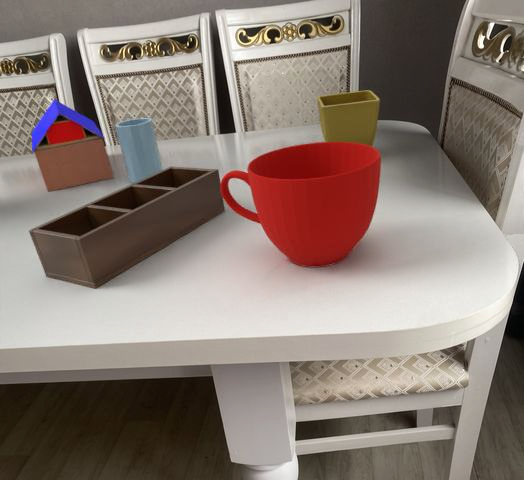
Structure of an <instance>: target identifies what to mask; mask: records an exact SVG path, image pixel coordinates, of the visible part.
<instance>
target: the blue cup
mask: <svg viewBox="0 0 524 480" xmlns="http://www.w3.org/2000/svg"><path fill="white" fill-rule="evenodd" d="M114 127H115V131H116V135H117V139H118V143H119V146H120V147H119V148H120V151H121V156H122V159H123V163H124V166H125V170H126V174H127V178H128V181H129V182H130V183H131V184H133V183H135V182H137V181H139V180H141V179H144V178H146V177H148V176H150V175H153V174H155V173H157V172H159V171H161V170H164V168H163V164H162V159H161V153H160V150H159V145H158V141H157V136H156V131H155V127H154V123H153V118H150V117H140V118H138V117H137V118H132V119H127V120H122V121H120V122H118V123H116V124H115V125H114Z"/></svg>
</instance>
